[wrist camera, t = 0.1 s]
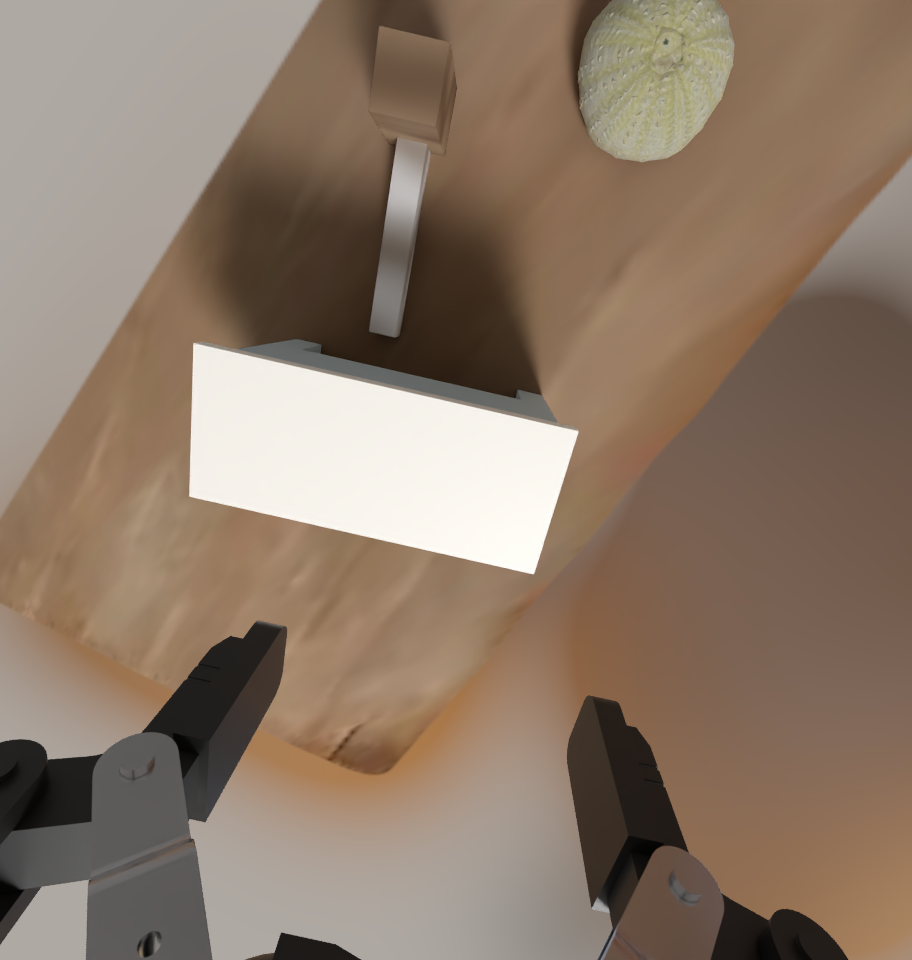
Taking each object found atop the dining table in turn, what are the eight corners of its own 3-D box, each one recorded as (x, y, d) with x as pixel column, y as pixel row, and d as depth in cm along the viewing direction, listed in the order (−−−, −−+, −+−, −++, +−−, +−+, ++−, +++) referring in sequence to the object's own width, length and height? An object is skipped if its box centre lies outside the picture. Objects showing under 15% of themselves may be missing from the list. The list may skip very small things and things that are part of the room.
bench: (291, 331, 39) (193, 343, 26) (549, 390, 39) (578, 431, 26) (281, 438, 42) (189, 496, 29) (520, 493, 42) (533, 574, 29)
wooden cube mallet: (398, 74, 32) (379, 25, 27) (456, 88, 33) (450, 42, 27) (362, 327, 38) (340, 331, 32) (412, 338, 38) (398, 344, 32)
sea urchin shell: (559, 164, 32) (599, 6, 25) (566, 97, 35) (603, -60, 28) (697, 186, 32) (777, 33, 25) (691, 117, 35) (760, -36, 28)
